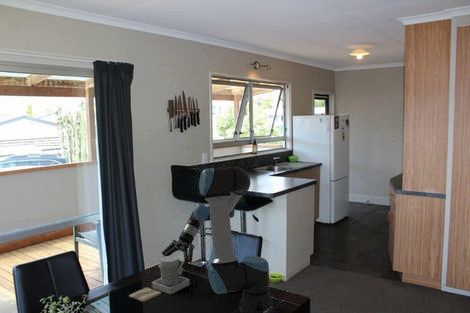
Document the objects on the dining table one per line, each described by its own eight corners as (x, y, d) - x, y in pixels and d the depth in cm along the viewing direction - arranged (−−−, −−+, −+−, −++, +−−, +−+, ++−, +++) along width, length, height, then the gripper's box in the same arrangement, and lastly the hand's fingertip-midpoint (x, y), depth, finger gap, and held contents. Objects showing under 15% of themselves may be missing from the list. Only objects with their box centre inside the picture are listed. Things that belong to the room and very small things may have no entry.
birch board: (161, 293, 196) (161, 292, 196) (144, 302, 188) (143, 300, 188) (146, 288, 203) (146, 287, 203) (128, 296, 194) (128, 295, 194)
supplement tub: (183, 287, 204) (182, 259, 202) (166, 292, 198) (164, 263, 197) (175, 281, 212) (174, 254, 210) (158, 285, 207) (157, 258, 205)
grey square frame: (189, 284, 206) (189, 279, 206) (170, 294, 196) (170, 288, 195) (171, 278, 215) (170, 273, 214) (151, 287, 204) (151, 282, 203)
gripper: (209, 242, 210) (190, 279, 199) (175, 234, 224) (156, 269, 214) (202, 234, 205) (182, 272, 194) (168, 227, 220) (148, 262, 209)
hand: (169, 270), depth 204 cm, fingers open, 13 cm apart
